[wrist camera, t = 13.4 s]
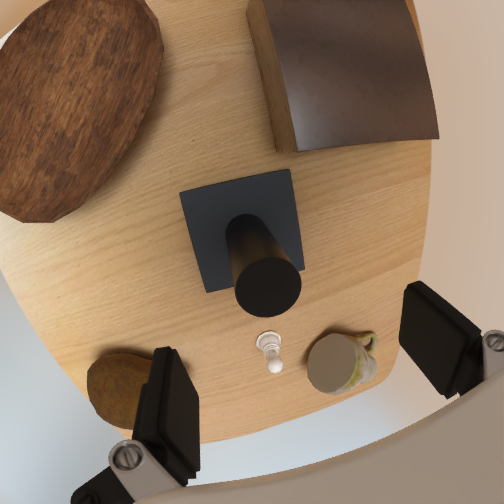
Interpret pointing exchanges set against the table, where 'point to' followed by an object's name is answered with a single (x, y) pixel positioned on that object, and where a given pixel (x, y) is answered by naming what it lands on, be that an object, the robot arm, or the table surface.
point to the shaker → (260, 268)
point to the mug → (341, 362)
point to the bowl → (72, 101)
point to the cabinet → (341, 72)
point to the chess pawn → (271, 350)
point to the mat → (234, 204)
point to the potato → (117, 387)
